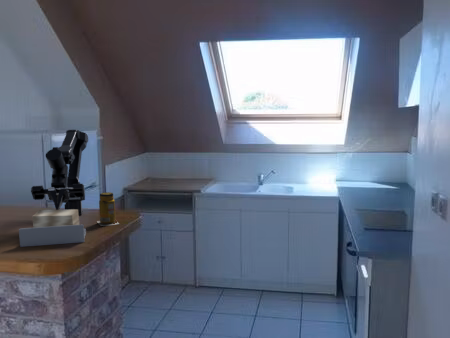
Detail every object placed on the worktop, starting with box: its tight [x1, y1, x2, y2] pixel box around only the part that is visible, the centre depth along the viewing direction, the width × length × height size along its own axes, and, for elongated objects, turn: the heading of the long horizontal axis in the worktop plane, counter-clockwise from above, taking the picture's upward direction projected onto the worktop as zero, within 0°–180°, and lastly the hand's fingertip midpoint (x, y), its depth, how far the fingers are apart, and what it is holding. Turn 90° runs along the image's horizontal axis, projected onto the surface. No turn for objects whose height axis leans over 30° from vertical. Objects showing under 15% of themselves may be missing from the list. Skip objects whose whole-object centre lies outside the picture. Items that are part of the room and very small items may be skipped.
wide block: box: [31, 209, 80, 228], centre depth 161 cm, size 14×7×8 cm, turn 91°
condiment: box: [96, 191, 120, 227], centre depth 176 cm, size 7×8×12 cm
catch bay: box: [18, 223, 87, 248], centre depth 154 cm, size 11×20×6 cm, turn 102°
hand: (57, 210), depth 163 cm, fingers closed
